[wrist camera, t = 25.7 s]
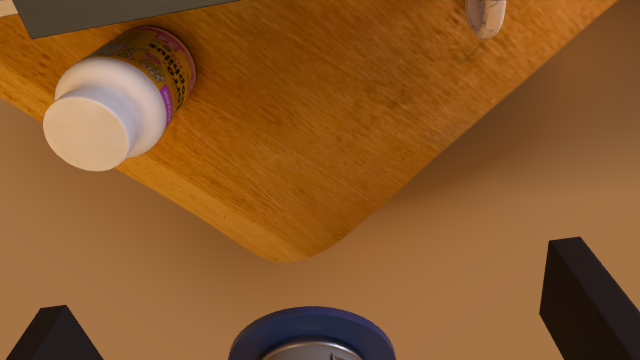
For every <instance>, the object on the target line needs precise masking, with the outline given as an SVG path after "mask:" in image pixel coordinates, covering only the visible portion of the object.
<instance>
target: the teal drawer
mask: <svg viewBox="0 0 640 360" xmlns="http://www.w3.org/2000/svg"><path fill="white" fill-rule="evenodd" d="M13 14H18V12H17V10H16V8H15V6H14V4H13V2H12V0H0V17H3V16H8V15H13Z"/></svg>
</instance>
